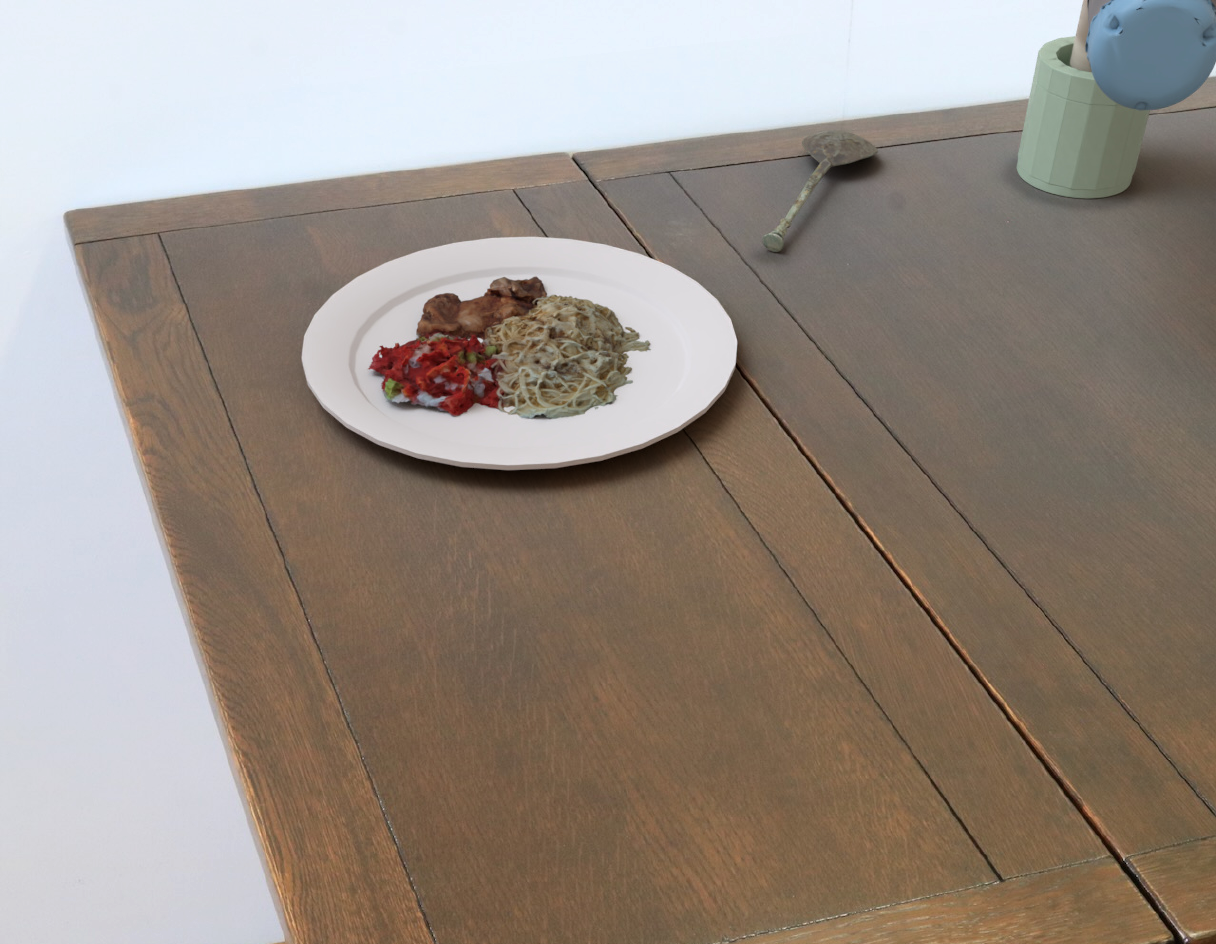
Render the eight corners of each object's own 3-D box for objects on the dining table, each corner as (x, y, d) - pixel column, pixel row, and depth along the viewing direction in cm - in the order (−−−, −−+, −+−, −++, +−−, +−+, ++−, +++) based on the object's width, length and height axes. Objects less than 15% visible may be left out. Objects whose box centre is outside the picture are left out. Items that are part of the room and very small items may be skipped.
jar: (1142, 164, 130) (1172, 49, 123) (1115, 208, 123) (1145, 89, 117) (1034, 141, 133) (1057, 28, 126) (1002, 183, 127) (1025, 66, 120)
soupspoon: (885, 159, 131) (814, 149, 134) (889, 121, 129) (816, 112, 132) (810, 260, 116) (730, 247, 118) (813, 218, 114) (731, 206, 116)
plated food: (812, 335, 108) (817, 293, 105) (572, 549, 89) (572, 503, 87) (483, 223, 120) (481, 184, 118) (212, 390, 101) (204, 347, 99)
